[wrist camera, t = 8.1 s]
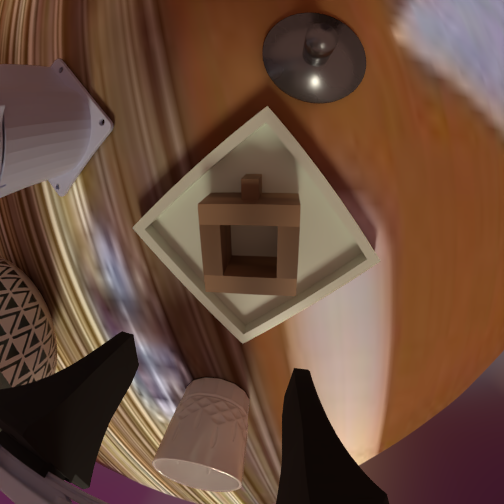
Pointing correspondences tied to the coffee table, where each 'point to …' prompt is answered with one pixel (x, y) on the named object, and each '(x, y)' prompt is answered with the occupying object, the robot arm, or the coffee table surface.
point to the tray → (259, 237)
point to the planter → (24, 330)
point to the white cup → (206, 437)
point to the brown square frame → (254, 214)
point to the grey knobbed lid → (314, 58)
